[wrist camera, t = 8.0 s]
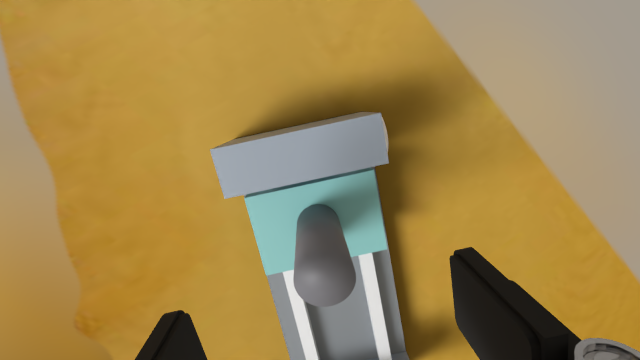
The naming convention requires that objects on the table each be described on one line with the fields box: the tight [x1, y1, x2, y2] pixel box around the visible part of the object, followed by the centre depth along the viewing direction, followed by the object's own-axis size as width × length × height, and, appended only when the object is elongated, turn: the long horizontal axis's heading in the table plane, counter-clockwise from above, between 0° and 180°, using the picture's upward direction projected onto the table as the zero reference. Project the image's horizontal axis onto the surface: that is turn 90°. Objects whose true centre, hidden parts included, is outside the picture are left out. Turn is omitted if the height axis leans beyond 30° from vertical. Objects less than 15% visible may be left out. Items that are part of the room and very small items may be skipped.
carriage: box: [244, 167, 387, 307], centre depth 18 cm, size 6×9×8 cm, turn 102°
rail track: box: [210, 112, 410, 360], centre depth 23 cm, size 24×10×6 cm, turn 12°
